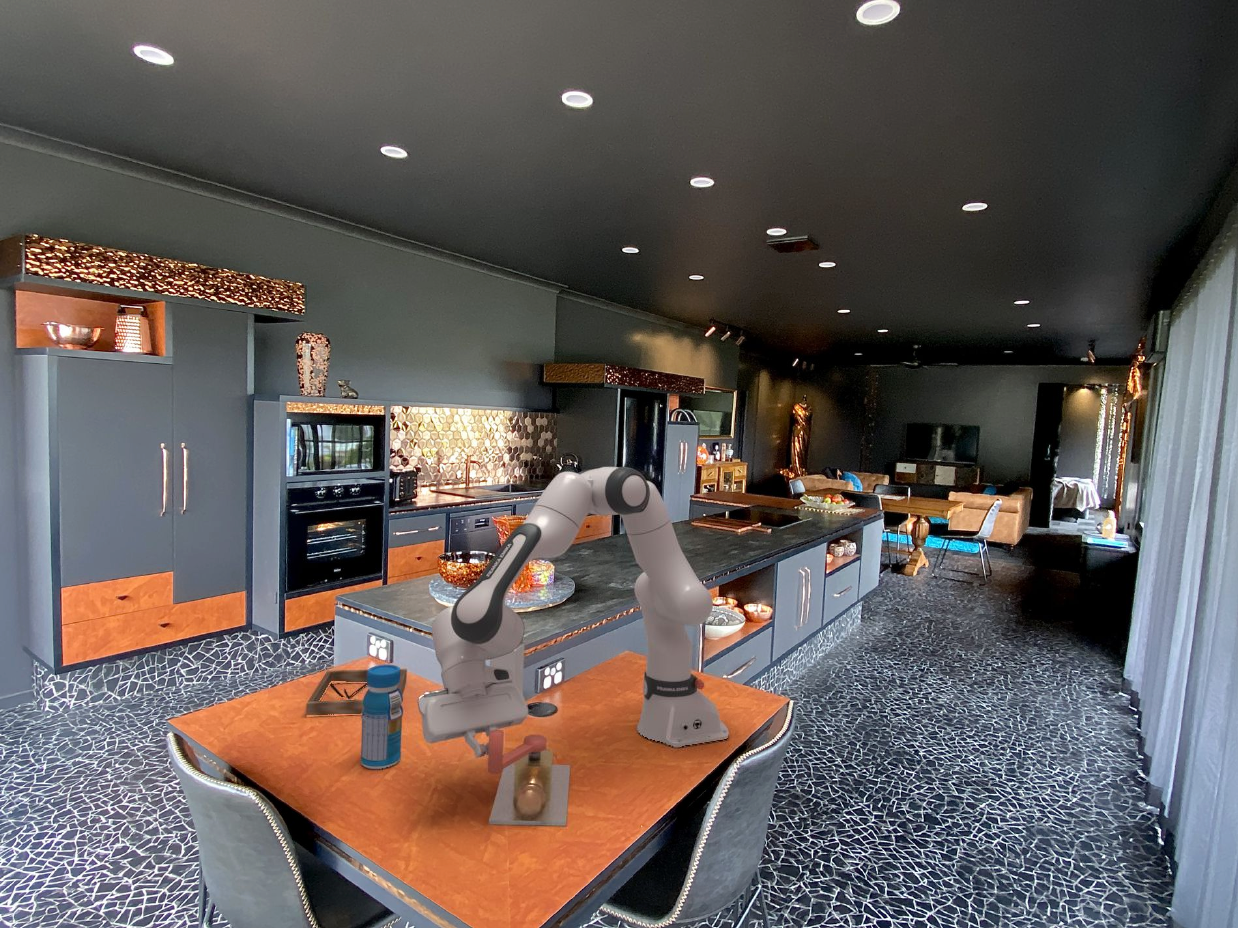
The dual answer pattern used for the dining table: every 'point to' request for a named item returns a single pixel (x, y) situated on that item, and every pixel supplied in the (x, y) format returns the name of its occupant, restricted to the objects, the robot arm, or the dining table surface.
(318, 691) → the glasses tray
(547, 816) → the valve body
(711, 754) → the dining table surface
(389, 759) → the beverage bottle
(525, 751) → the lever
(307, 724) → the dining table surface
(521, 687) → the milk carton
